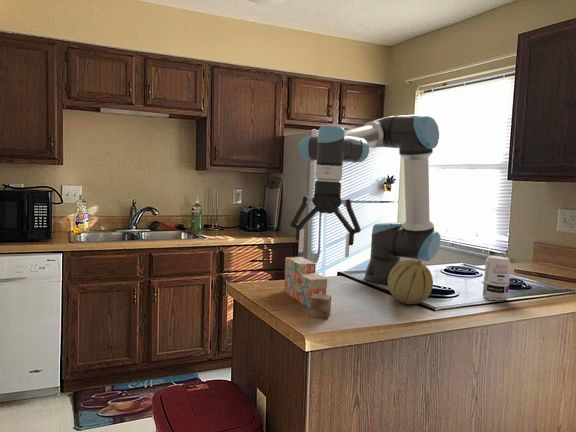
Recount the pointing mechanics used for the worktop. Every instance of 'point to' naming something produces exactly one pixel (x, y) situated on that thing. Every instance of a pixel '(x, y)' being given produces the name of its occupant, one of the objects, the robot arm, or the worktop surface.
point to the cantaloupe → (410, 282)
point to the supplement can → (496, 278)
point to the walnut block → (320, 306)
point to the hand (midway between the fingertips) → (323, 254)
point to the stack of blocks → (303, 280)
